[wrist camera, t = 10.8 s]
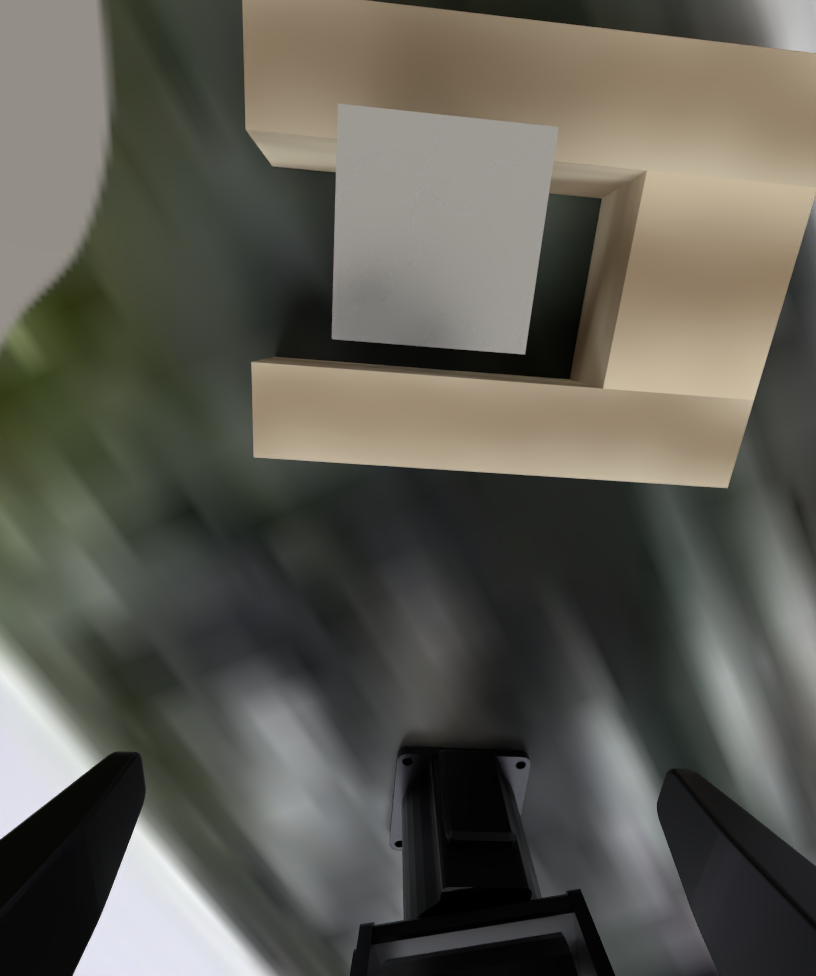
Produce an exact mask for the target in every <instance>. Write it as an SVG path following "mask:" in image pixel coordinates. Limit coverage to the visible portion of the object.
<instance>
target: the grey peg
mask: <svg viewBox="0 0 816 976" xmlns="http://www.w3.org/2000/svg"><path fill="white" fill-rule="evenodd" d="M558 129H559V127H553V126H544V125H534V124H525V123H516V122H506V121H497V120H488V119H478V118H469V117H459V116H450V115H441V114H431V113H422V112H413V111H403V110H394V109H385V108H375V107H366V106H356V105H347V104H338V116H337V154H336V192H335V231H334V269H333V307H332V339H336V340H349V341H361V342H374V343H386V344H399V345H411V346H424V347H436V348H449V349H461V350H474V351H487V352H499V353H512V354H524V355H525V351H526V345H527V338H528V331H529V324H530V318H531V311H532V304H533V298H534V291H535V284H536V277H537V271H538V264H539V257H540V250H541V244H542V237H543V230H544V223H545V217H546V210H547V203H548V196H549V190H550V183H551V176H552V170H553V163H554V156H555V149H556V143H557V136H558Z"/></svg>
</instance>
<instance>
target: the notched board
mask: <svg viewBox="0 0 816 976" xmlns="http://www.w3.org/2000/svg"><path fill="white" fill-rule="evenodd" d="M242 3H243V43H244V84H245V124H246V131H247V132H248V133H249V135H250V136H251V138H252V139H253V140H254V142H255V143H256V144H257V146H258V147H259V149H260V150H261V151H262V153H263V154H264V155H265V157H266V158H267V160H268V161H269V162H270V164H271V165H272V166H275V167H285V168H295V169H306V170H316V171H326V172H336V154H337V116H338V104H347V105H356V106H366V107H375V108H385V109H394V110H403V111H413V112H422V113H431V114H441V115H450V116H459V117H469V118H478V119H488V120H497V121H506V122H516V123H525V124H534V125H544V126H553V127H559V129H558V136H557V143H556V149H555V156H554V163H553V170H552V176H551V183H550V190H549V193H551V194H561V195H571V196H581V197H591V198H602V201H601V207H600V212H599V218H598V224H597V229H596V235H595V240H594V246H593V252H592V257H591V263H590V268H589V274H588V280H587V285H586V291H585V296H584V302H583V308H582V313H581V319H580V324H579V330H578V336H577V341H576V347H575V352H574V358H573V364H572V369H571V375H570V379H559V378H545V377H532V376H519V375H506V374H493V373H480V372H467V371H454V370H441V369H428V368H415V367H402V366H389V365H376V364H363V363H350V362H337V361H323V360H310V359H297V358H284V357H271V358H267V359H262V360H258V361H254V362H251V367H252V407H253V447H254V457H258V458H273V459H289V460H304V461H319V462H335V463H350V464H366V465H381V466H396V467H412V468H427V469H442V470H458V471H473V472H488V473H504V474H519V475H534V476H550V477H565V478H580V479H596V480H611V481H627V482H642V483H657V484H673V485H688V486H703V487H719V488H728V485H729V482H730V478H731V475H732V472H733V468H734V465H735V462H736V458H737V455H738V452H739V448H740V445H741V442H742V438H743V435H744V432H745V428H746V425H747V422H748V418H749V415H750V412H751V408H752V405H753V402H754V398H755V395H756V392H757V388H758V385H759V382H760V378H761V375H762V372H763V368H764V365H765V362H766V358H767V355H768V352H769V348H770V345H771V342H772V338H773V335H774V332H775V328H776V325H777V322H778V318H779V315H780V312H781V308H782V305H783V302H784V298H785V295H786V292H787V288H788V285H789V282H790V278H791V275H792V272H793V268H794V265H795V262H796V258H797V255H798V252H799V248H800V245H801V242H802V238H803V235H804V232H805V228H806V225H807V222H808V218H809V215H810V212H811V208H812V205H813V202H814V198H815V195H816V53H809V52H800V51H792V50H783V49H775V48H766V47H758V46H749V45H741V44H732V43H724V42H716V41H707V40H699V39H690V38H682V37H673V36H665V35H656V34H648V33H639V32H631V31H622V30H614V29H605V28H597V27H588V26H580V25H571V24H563V23H554V22H546V21H537V20H529V19H520V18H512V17H503V16H495V15H486V14H478V13H469V12H461V11H452V10H444V9H435V8H427V7H419V6H410V5H402V4H393V3H385V2H376V1H368V0H242Z"/></svg>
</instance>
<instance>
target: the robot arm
mask: <svg viewBox="0 0 816 976" xmlns="http://www.w3.org/2000/svg"><path fill="white" fill-rule="evenodd" d="M406 758H408V759H406ZM519 761H521V762H519ZM530 768H531V762H530V758H529V755H528V754H527V753H526V752H525V751H521V750H495V749H465V748H435V747H403V748H401V749H400V750H399V751H398V753H397V762H396V773H395V784H394V795H393V806H392V817H391V829H390V847H391V848H392V849H394V850H396V851H402V857H403V906H404V920H403V921H396V922H390V923H384V924H378V925H375V923H374V922H371V923H365V924H360V929H359V936H358V942H357V949H354V952H353V958H352V965H351V971H350V976H615V974H614V971H613V969H612V966H611V964H610V962H609V959H608V957H607V954H606V952H605V949H604V947H603V944H602V942H601V939H600V937H599V934H598V932H597V929H596V927H595V924H594V922H593V919H592V917H591V914H590V912H589V909H588V907H587V905H586V902H585V900H584V897H583V895H582V892H581V890H580V889H576V890H569V891H566V894H564V895H558V896H551V897H545V898H542V897H541V893H540V889H539V885H538V882H537V878H536V874H535V870H534V866H533V863H532V859H531V855H530V851H529V848H528V844H527V840H526V836H525V832H524V829H523V825H522V821H521V812H522V807H523V802H524V797H525V792H526V787H527V782H528V778H529V773H530ZM145 794H146V786H145V778H144V770H143V762H142V757H141V755H140V754H139V753H137V752H114V753H112V754H110V755H108V756H107V757H106V758H104V759H103V760H102V761H100V762H99V763H98V764H97V765H95V766H94V767H93V768H91V769H90V770H89V771H88V772H86V773H85V774H84V775H82V776H81V777H80V778H79V779H77V780H76V781H75V782H73V783H72V784H71V785H70V786H68V787H67V788H66V789H64V790H63V791H62V792H61V793H59V794H58V795H57V796H55V797H54V798H53V799H52V800H50V801H49V802H48V803H46V804H45V805H44V806H43V807H41V808H40V809H39V810H37V811H36V812H35V813H34V814H32V815H31V816H30V817H28V818H27V819H26V820H25V821H23V822H22V823H21V824H19V825H18V826H17V827H16V828H14V829H13V830H12V831H11V832H9V833H8V834H7V835H5V836H4V837H3V838H2V839H0V976H73V973H74V971H75V969H76V967H77V965H78V963H79V961H80V959H81V957H82V955H83V953H84V950H85V948H86V946H87V944H88V942H89V940H90V938H91V936H92V934H93V931H94V929H95V927H96V925H97V923H98V920H99V918H100V916H101V914H102V911H103V909H104V906H105V904H106V901H107V899H108V896H109V893H110V891H111V888H112V885H113V883H114V880H115V878H116V875H117V872H118V870H119V867H120V864H121V862H122V859H123V856H124V854H125V851H126V849H127V846H128V843H129V841H130V838H131V835H132V833H133V830H134V827H135V825H136V822H137V820H138V817H139V814H140V812H141V809H142V806H143V803H144V799H145ZM657 813H658V817H659V821H660V823H661V826H662V829H663V832H664V835H665V837H666V840H667V843H668V846H669V848H670V851H671V854H672V857H673V860H674V862H675V865H676V868H677V871H678V874H679V876H680V879H681V882H682V885H683V887H684V890H685V893H686V896H687V899H688V901H689V904H690V907H691V909H692V912H693V915H694V917H695V920H696V922H697V925H698V927H699V930H700V932H701V934H702V937H703V939H704V941H705V943H706V946H707V948H708V950H709V952H710V955H711V957H712V959H713V961H714V963H715V966H716V968H717V970H718V972H719V975H720V976H816V866H815V865H814V864H812V863H811V862H810V861H809V860H807V859H806V858H805V857H804V856H802V855H801V854H800V853H799V852H797V851H796V850H795V849H794V848H792V847H791V846H790V845H789V844H787V843H786V842H785V841H783V840H782V839H781V838H780V837H778V836H777V835H776V834H775V833H773V832H772V831H771V830H770V829H768V828H767V827H766V826H765V825H763V824H762V823H761V822H760V821H758V820H757V819H756V818H754V817H753V816H752V815H751V814H749V813H748V812H747V811H746V810H744V809H743V808H742V807H741V806H739V805H738V804H737V803H736V802H734V801H733V800H732V799H730V798H729V797H728V796H727V795H725V794H724V793H723V792H722V791H720V790H719V789H718V788H717V787H715V786H714V785H713V784H712V783H710V782H709V781H708V780H707V779H705V778H704V777H703V776H701V775H700V774H699V773H697V772H696V771H694V770H691V769H670V770H669V771H668V772H667V773H666V776H665V779H664V782H663V785H662V788H661V792H660V795H659V798H658V801H657Z"/></svg>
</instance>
